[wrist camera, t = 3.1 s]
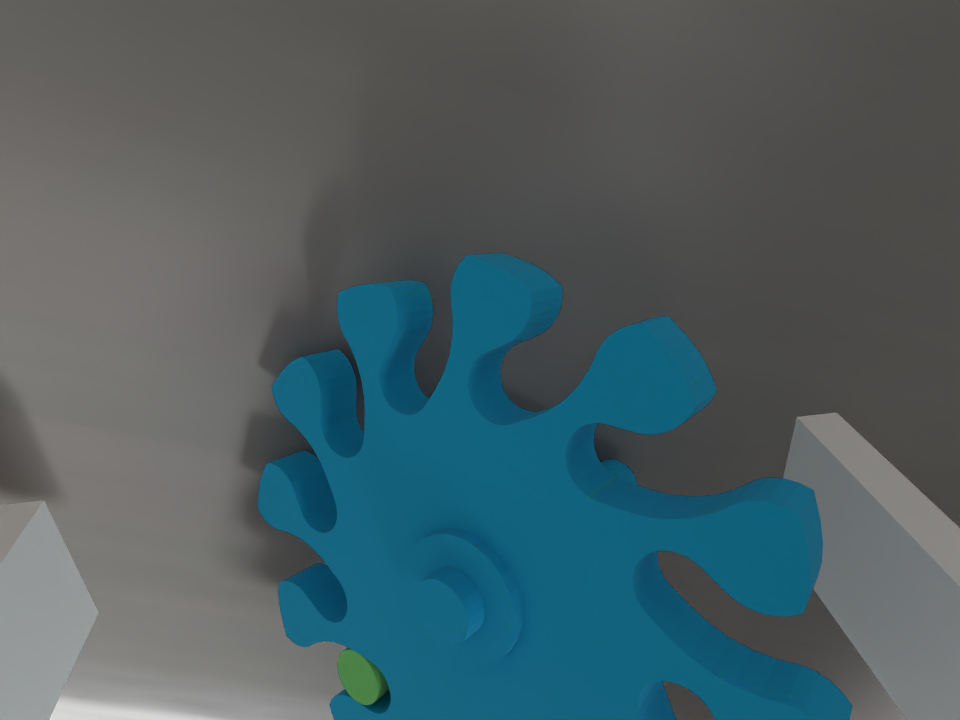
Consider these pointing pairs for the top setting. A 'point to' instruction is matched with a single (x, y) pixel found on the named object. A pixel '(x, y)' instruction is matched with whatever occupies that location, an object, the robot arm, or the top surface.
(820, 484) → the robot arm
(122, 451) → the top surface
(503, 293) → the gear
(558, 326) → the top surface
